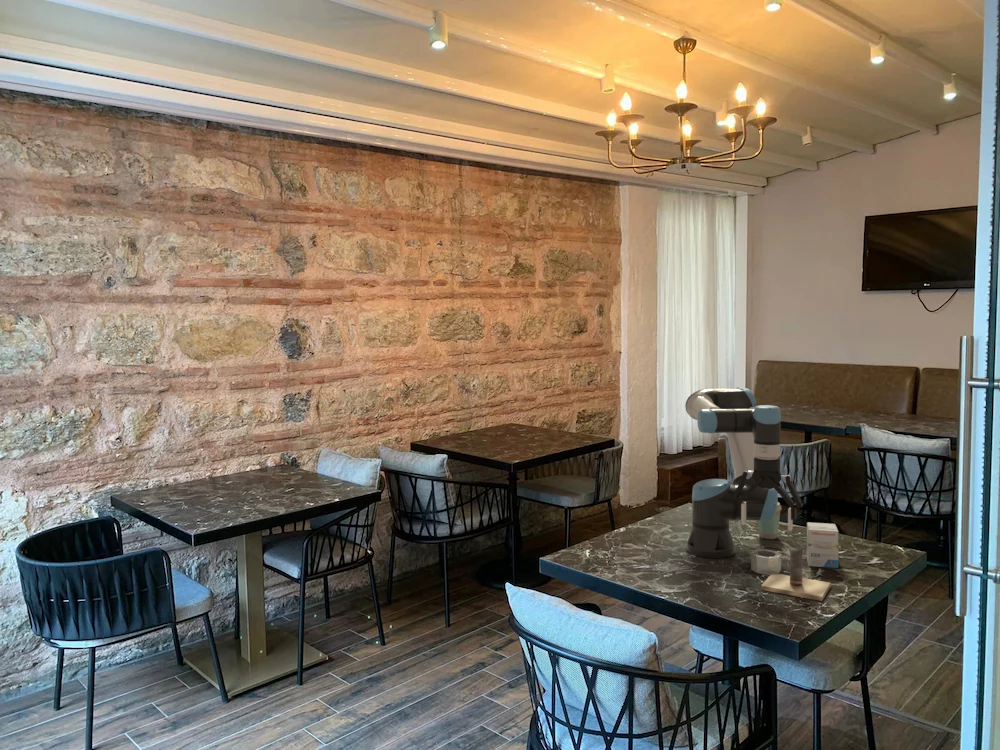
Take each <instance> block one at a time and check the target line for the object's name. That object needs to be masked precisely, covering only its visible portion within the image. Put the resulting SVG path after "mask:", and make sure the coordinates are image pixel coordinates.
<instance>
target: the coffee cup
mask: <svg viewBox="0 0 1000 750" xmlns="http://www.w3.org/2000/svg"><path fill="white" fill-rule="evenodd" d="M781 511H782V505H781V503H780V502H779V501H777V509H776V514H775V516H774V518H773V519H771V520H761V521H759V520H757V527H758V529H757V530H758V535H759V538H761V539H764V538H765V539H766V540H775V539H777V538H778V532H779V525H780V517H781V516H780V515H781Z"/></svg>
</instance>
